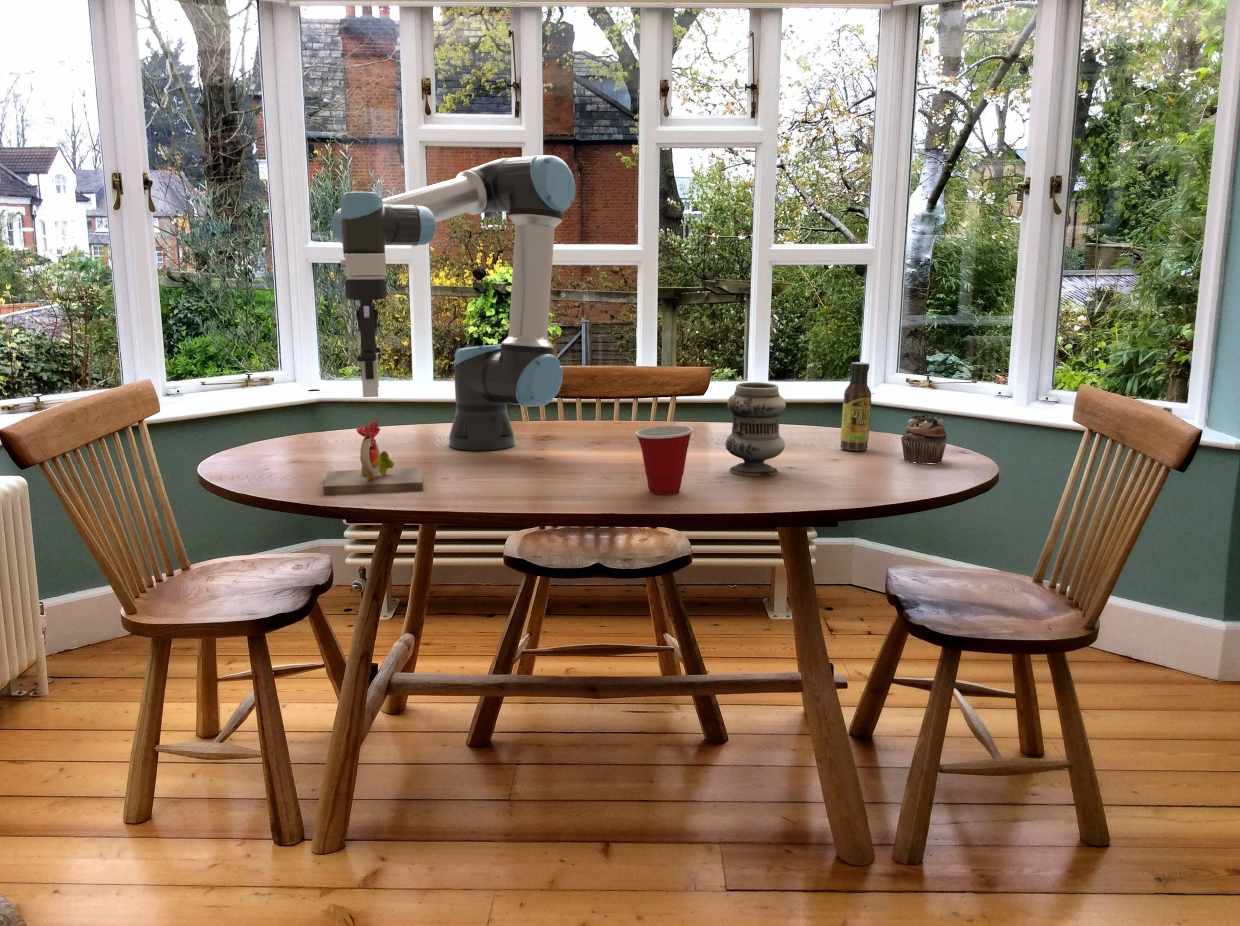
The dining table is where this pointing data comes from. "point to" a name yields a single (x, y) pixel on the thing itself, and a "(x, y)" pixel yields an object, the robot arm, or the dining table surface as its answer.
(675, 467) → the plastic cup
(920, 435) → the cupcake
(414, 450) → the dining table surface
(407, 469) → the walnut board
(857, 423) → the sauce bottle
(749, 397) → the apothecary jar
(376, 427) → the bird rattle
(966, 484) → the dining table surface
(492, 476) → the dining table surface
